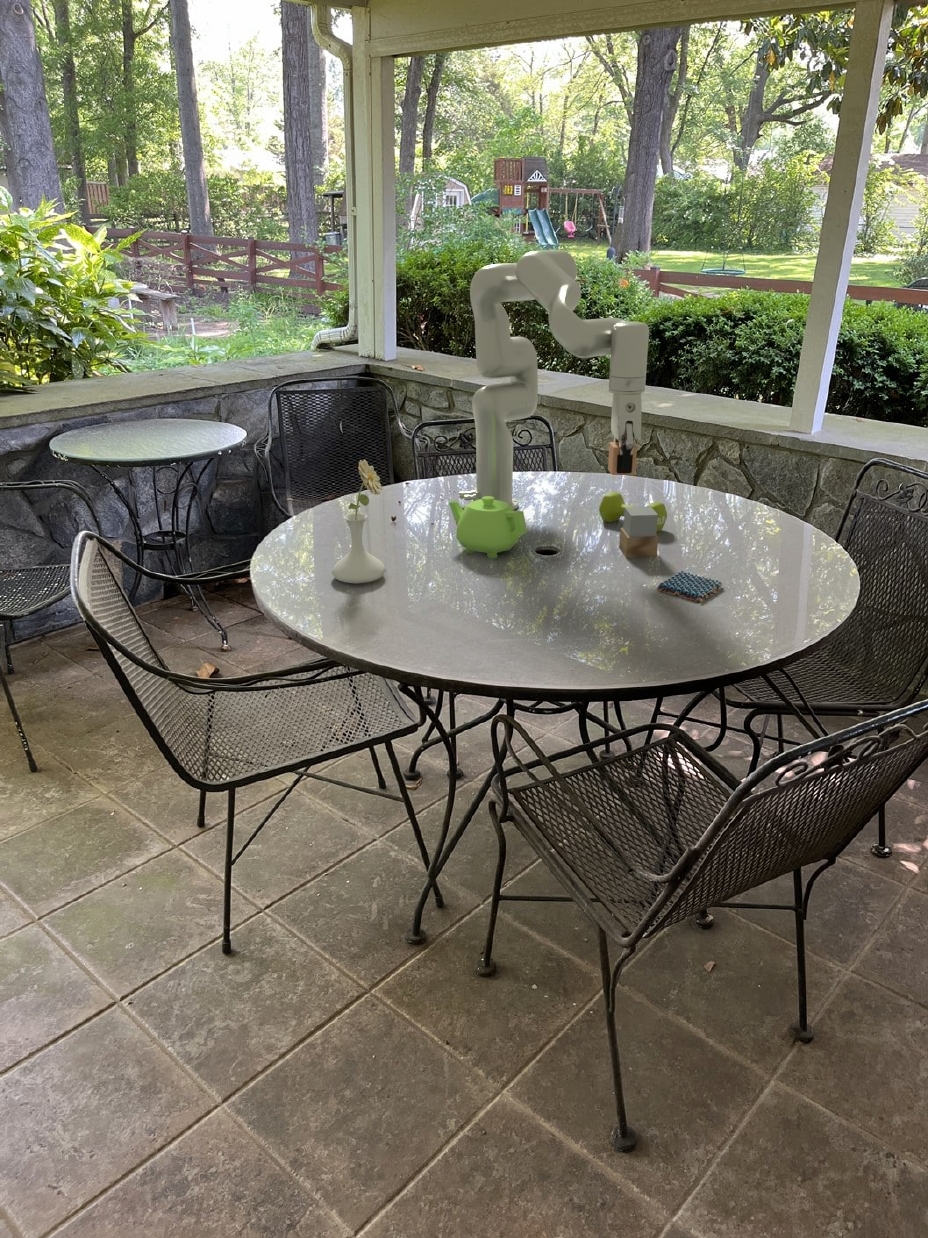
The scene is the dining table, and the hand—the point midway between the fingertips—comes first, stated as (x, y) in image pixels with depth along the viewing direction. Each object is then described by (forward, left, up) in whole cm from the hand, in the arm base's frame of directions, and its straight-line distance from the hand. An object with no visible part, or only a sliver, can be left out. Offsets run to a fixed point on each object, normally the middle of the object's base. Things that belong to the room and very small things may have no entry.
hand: (621, 468), depth 189 cm
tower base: (+5, +1, -20) cm, 21 cm away
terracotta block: (0, 0, -1) cm, 1 cm away
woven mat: (+11, -21, -21) cm, 32 cm away
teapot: (-29, +5, -20) cm, 35 cm away
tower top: (+5, 0, -15) cm, 16 cm away
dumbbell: (+8, +19, -20) cm, 29 cm away
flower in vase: (-57, -10, -20) cm, 61 cm away
